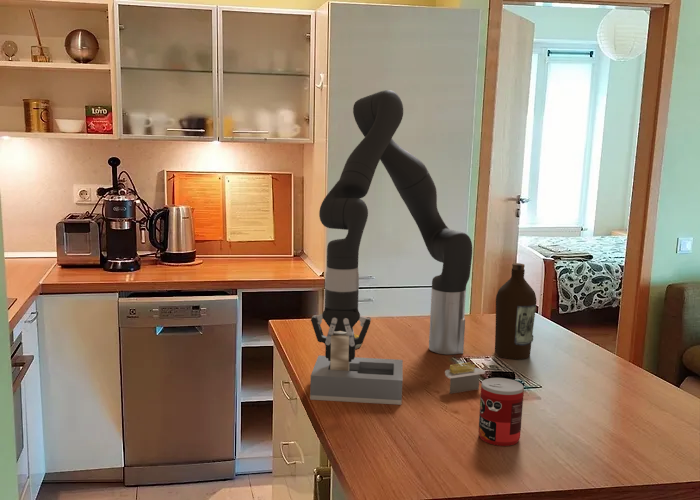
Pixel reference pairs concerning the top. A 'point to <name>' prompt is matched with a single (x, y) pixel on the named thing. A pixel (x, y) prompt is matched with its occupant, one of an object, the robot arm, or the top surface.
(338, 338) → the maple peg
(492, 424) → the canned food
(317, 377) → the keyhole plate
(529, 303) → the olive oil
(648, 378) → the top surface
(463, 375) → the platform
